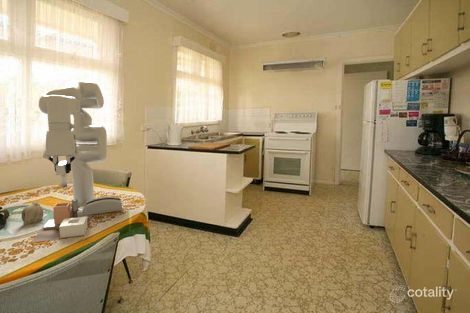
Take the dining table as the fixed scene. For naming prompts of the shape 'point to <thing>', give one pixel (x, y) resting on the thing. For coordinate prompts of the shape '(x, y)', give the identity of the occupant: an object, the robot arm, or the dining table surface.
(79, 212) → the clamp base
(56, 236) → the grey flat plate
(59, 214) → the block
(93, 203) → the grey arched block
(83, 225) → the white holed block
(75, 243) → the dining table surface
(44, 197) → the dining table surface
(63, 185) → the steel key
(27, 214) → the grey rounded lump
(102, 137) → the robot arm
